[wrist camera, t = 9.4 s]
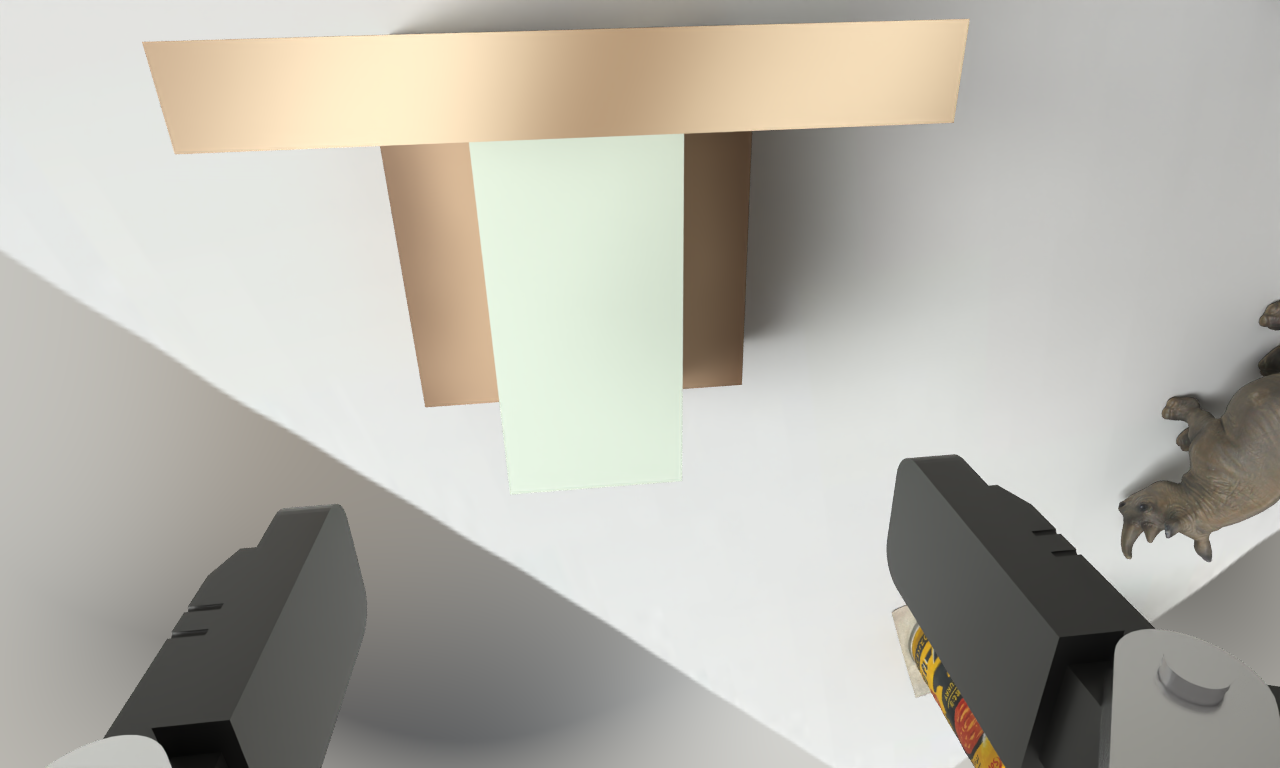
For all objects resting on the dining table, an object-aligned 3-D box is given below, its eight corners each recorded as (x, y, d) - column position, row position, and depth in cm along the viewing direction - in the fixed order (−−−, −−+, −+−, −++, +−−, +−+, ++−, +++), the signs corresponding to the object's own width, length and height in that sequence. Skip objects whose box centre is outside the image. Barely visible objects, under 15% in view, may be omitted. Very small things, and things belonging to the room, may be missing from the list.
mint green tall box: (648, 97, 23) (684, 121, 17) (652, 398, 28) (681, 503, 22) (490, 102, 23) (467, 128, 17) (521, 406, 28) (512, 517, 21)
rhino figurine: (1057, 503, 38) (1140, 581, 33) (1272, 285, 34) (1409, 333, 28) (1107, 534, 39) (1195, 613, 34) (1320, 328, 35) (1460, 382, 30)
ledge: (727, 70, 27) (754, 76, 23) (720, 344, 32) (741, 384, 28) (395, 81, 26) (370, 89, 22) (440, 363, 31) (425, 407, 27)
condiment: (889, 609, 40) (1014, 822, 29) (1039, 556, 39) (1221, 752, 29) (913, 694, 43) (1033, 914, 32) (1052, 646, 43) (1220, 854, 32)
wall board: (728, 25, 26) (969, 18, 11) (727, 70, 27) (953, 122, 12) (388, 34, 25) (141, 42, 10) (395, 81, 26) (174, 154, 11)
